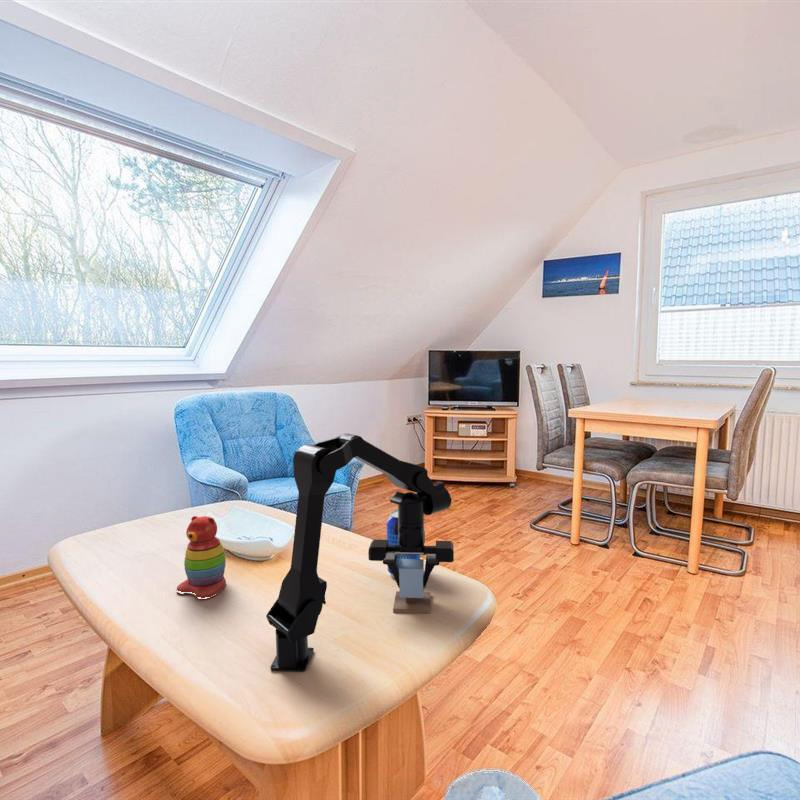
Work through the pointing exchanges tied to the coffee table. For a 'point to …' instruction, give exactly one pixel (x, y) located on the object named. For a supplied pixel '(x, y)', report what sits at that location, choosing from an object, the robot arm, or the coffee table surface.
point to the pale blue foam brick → (411, 578)
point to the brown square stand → (412, 604)
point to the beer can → (396, 538)
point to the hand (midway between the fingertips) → (411, 587)
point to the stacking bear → (203, 559)
